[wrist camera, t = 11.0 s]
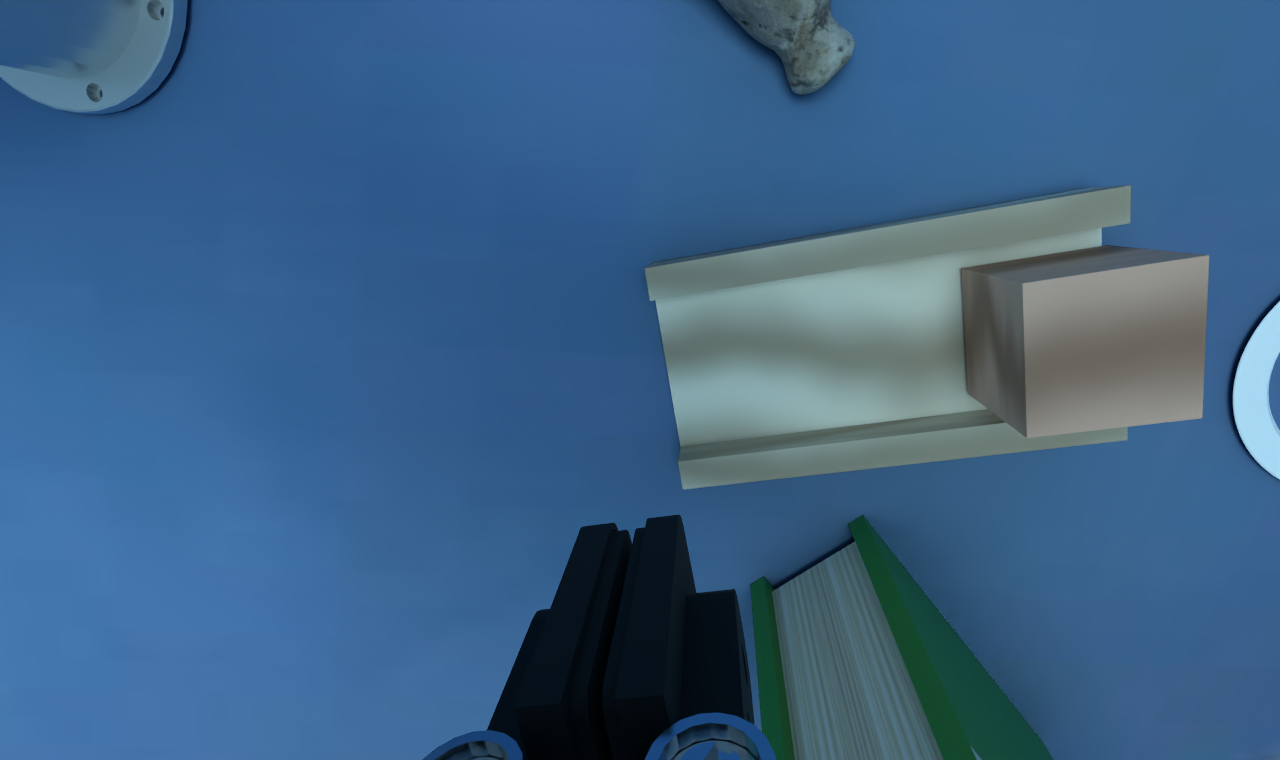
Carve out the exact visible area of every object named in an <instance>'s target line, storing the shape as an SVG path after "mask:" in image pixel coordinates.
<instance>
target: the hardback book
mask: <svg viewBox="0 0 1280 760" xmlns="http://www.w3.org/2000/svg"><path fill="white" fill-rule="evenodd" d="M848 525H849V528H850V530H851V533H852V535H853V538H854V540H855V542H853V543H851V544H850V545H848V546H846V547H845V548H843V549H841V550H840V551H838V552H836V553H835V554H833V555H832V556H830V557H828V558H827V559H825V560H823V561H822V562H820V563H818V564H817V565H815V566H813V567H812V568H810V569H808V570H807V571H805V572H804V573H802V574H800V575H799V576H797V577H795V578H794V579H792V580H790V581H789V582H787V583H785V584H784V585H782V586H781V587H779V588H777V589H776V590H775V589H774V588H773V587H772V586H771V584H770V583H769V582H768V581H767V580H766V578H765V577H764V576H763V577H762V578H760V579H758V580H757V581H755V582H753V583H752V584H750V587H751V599H752V612H753V624H754V636H755V649H756V661H757V674H758V686H759V698H760V711H761V723H762V733H763V734H764V735H765V736H766V737H767V739H768V741H769V743H770V745H771V747H772V749H773V751H774V753H775V756H776V760H1053V758H1052V757H1051V755H1050V753H1049V752H1048V750H1047V748H1046V747H1045V745H1044V744H1043V742H1042V741H1041V740H1040V738H1039V737H1038V736H1037V734H1036V733H1035V732H1034V731H1033V729H1032V728H1031V727H1030V726H1029V724H1028V723H1027V722H1026V721H1025V719H1024V718H1023V717H1022V716H1021V714H1020V713H1019V712H1018V710H1017V709H1016V708H1015V707H1014V705H1013V704H1012V703H1011V702H1010V700H1009V699H1008V698H1007V697H1006V695H1005V694H1004V693H1003V691H1002V690H1001V689H1000V688H999V686H998V685H997V684H996V683H995V681H994V680H993V679H992V678H991V676H990V675H989V674H988V673H987V671H986V670H985V669H984V667H983V666H982V665H981V664H980V662H979V661H978V660H977V659H976V657H975V656H974V655H973V654H972V652H971V651H970V650H969V649H968V647H967V646H966V645H965V643H964V642H963V641H962V640H961V638H960V637H959V636H958V635H957V633H956V632H955V631H954V630H953V628H952V627H951V626H950V625H949V623H948V622H947V621H946V619H945V618H944V617H943V616H942V614H941V613H940V612H939V611H938V609H937V608H936V607H935V606H934V604H933V603H932V602H931V600H930V599H929V598H928V597H927V595H926V594H925V593H924V592H923V590H922V589H921V588H920V587H919V585H918V584H917V583H916V582H915V580H914V579H913V578H912V576H911V575H910V574H909V573H908V571H907V570H906V569H905V568H904V566H903V565H902V564H901V563H900V561H899V560H898V559H897V558H896V556H895V555H894V554H893V552H892V551H891V550H890V549H889V547H888V546H887V545H886V544H885V542H884V541H883V540H882V539H881V537H880V536H879V535H878V534H877V532H876V531H875V530H874V528H873V527H872V526H871V525H870V523H869V522H868V521H867V520H866V518H865V517H864V516H863V515H862V516H860V517H859V518H857V519H855V520H854V521H852V522H851V523H849V524H848Z"/></svg>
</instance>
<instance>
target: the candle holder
mask: <svg viewBox="0 0 1280 760" xmlns="http://www.w3.org/2000/svg"><path fill="white" fill-rule="evenodd" d="M1279 353H1280V301H1279V302H1278V303H1277V304H1276V305H1275V306H1274V307H1273V308H1272V309H1271V311H1270V312H1269V313H1268V314H1267V315H1266V316H1265V318H1264V319H1263V320H1262V321H1261V323H1260V324H1259V326H1258V327H1257V328H1256V330H1255V332H1254V333H1253V335H1252V336H1251V338H1250V340H1249V342H1248V343H1247V345H1246V347H1245V349H1244V352H1243V354H1242V356H1241V359H1240V362H1239V365H1238V368H1237V371H1236V375H1235V380H1234V387H1233V411H1234V418H1235V422H1236V426H1237V429H1238V432H1239V434H1240V437H1241V439H1242V441H1243V443H1244V445H1245V446H1246V448H1247V449H1248V451H1249V452H1250V454H1251V455H1252V456H1253V458H1254V459H1255V460H1256V461H1257V462H1258V463H1259V464H1260V465H1261V466H1262V467H1263V468H1264V469H1265V470H1267V471H1268V472H1269V473H1270V474H1272V475H1273V476H1275V477H1276V478H1278V479H1280V430H1279V429H1278V427H1277V425H1276V424H1275V421H1274V419H1273V417H1272V414H1271V410H1270V406H1269V396H1268V391H1269V381H1270V376H1271V372H1272V369H1273V366H1274V363H1275V361H1276V359H1277V357H1278V355H1279Z"/></svg>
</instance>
